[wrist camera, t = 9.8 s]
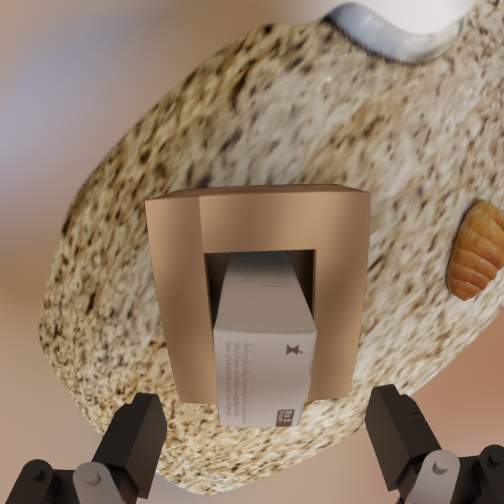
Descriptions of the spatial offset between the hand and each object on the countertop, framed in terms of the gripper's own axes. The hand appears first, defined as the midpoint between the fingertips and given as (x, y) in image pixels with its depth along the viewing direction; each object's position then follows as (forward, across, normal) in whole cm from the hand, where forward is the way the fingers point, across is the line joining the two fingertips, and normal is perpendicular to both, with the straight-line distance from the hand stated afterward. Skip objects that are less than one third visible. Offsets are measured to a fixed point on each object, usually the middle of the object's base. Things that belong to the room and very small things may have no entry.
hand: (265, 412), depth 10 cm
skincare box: (+14, 0, 0) cm, 14 cm away
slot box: (+15, 0, 0) cm, 15 cm away
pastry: (+15, -21, -2) cm, 26 cm away
